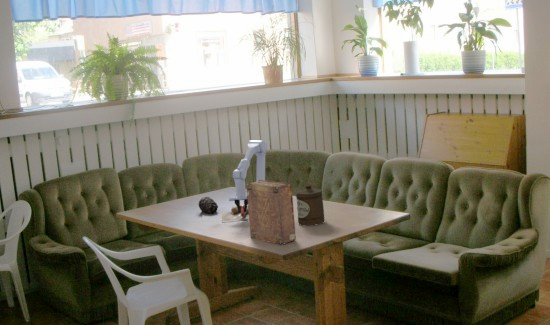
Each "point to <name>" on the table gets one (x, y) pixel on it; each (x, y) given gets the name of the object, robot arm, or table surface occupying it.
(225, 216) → the base
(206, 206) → the pine cone
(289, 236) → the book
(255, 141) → the robot arm
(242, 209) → the lever
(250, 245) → the table surface
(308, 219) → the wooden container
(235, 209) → the tan round ball
